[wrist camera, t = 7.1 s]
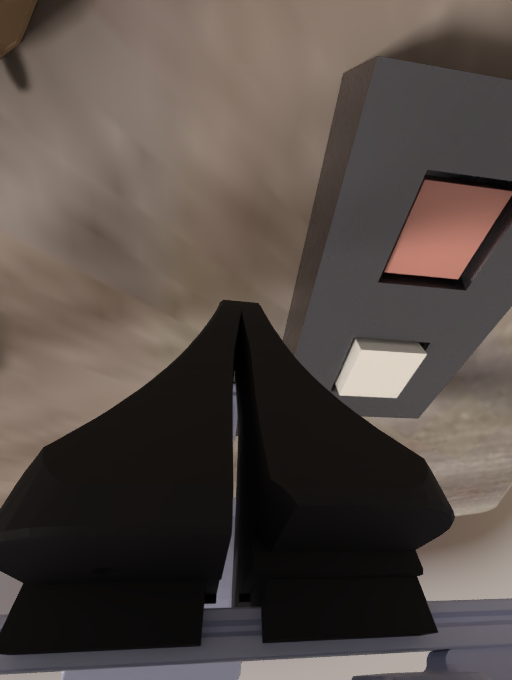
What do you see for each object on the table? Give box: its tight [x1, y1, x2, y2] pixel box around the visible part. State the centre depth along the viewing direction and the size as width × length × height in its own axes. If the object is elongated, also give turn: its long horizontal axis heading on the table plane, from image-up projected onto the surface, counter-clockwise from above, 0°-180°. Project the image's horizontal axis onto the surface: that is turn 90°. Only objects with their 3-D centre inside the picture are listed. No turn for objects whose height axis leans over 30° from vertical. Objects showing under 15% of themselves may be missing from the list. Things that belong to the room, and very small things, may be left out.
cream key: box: [335, 338, 427, 398], centre depth 19 cm, size 4×4×3 cm
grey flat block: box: [283, 56, 512, 418], centre depth 17 cm, size 20×12×4 cm, turn 174°
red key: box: [383, 175, 512, 279], centre depth 15 cm, size 4×4×3 cm
